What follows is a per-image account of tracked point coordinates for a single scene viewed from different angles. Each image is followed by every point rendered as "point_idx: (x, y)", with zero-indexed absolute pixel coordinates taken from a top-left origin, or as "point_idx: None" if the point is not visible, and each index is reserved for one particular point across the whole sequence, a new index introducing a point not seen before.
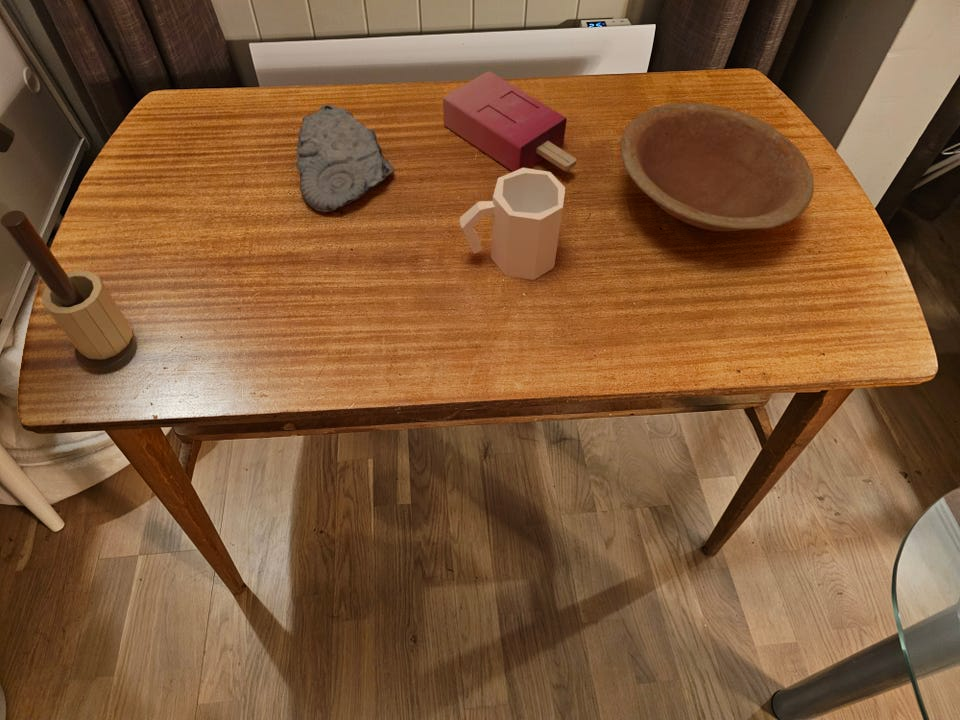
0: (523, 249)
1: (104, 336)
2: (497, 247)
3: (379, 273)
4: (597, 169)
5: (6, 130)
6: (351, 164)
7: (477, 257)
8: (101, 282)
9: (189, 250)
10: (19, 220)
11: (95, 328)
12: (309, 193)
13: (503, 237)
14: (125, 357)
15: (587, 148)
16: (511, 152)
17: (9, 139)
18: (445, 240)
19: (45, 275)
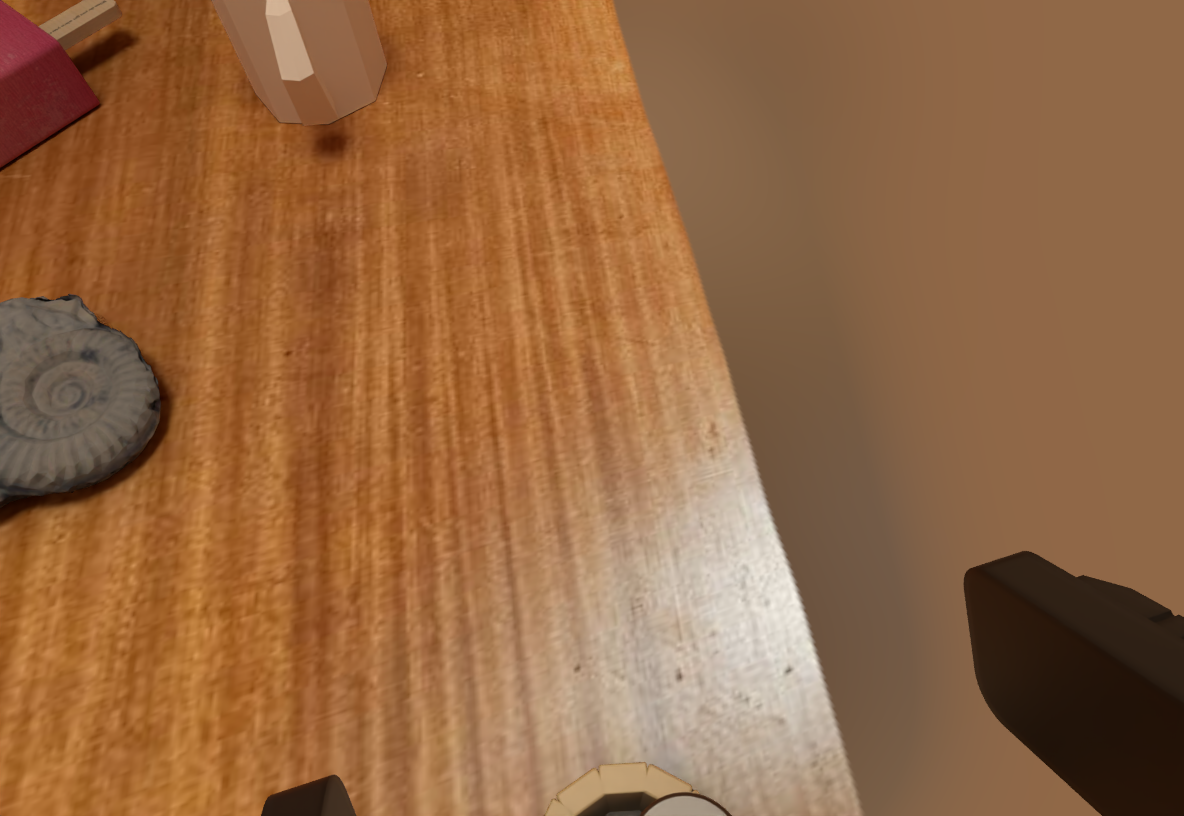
0: (361, 11)
1: None
2: (333, 73)
3: (364, 290)
4: None
5: (296, 805)
6: (8, 365)
7: (326, 143)
8: (573, 782)
9: (257, 760)
10: (696, 810)
11: None
12: (97, 449)
13: (336, 26)
14: None
15: (43, 19)
16: (53, 76)
17: (343, 807)
18: (274, 195)
19: None
